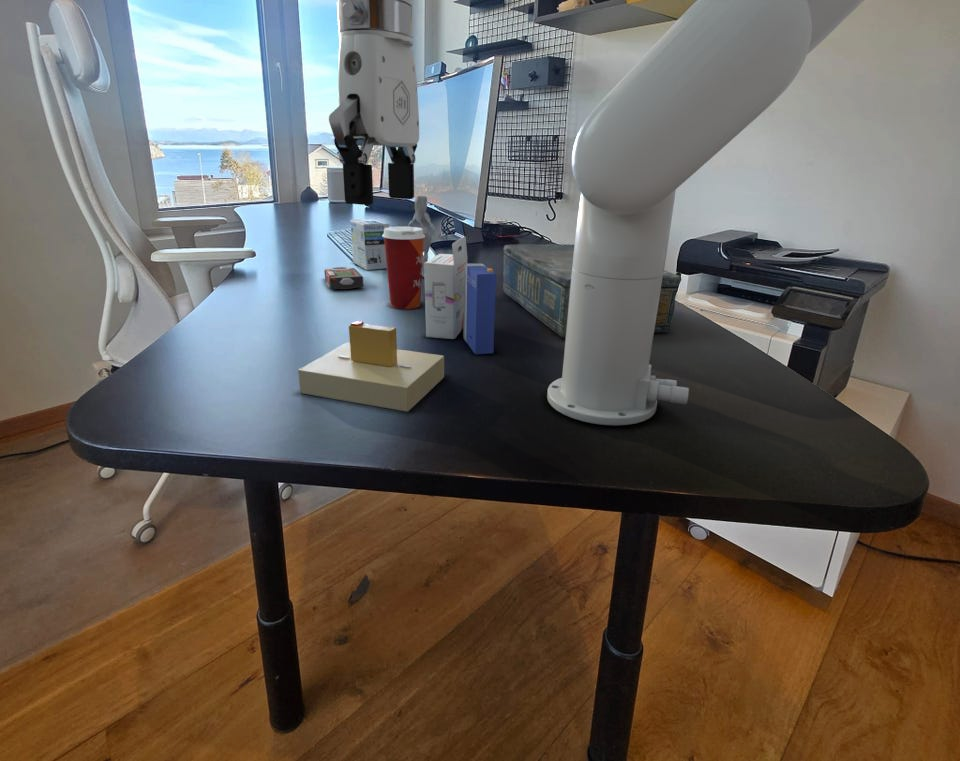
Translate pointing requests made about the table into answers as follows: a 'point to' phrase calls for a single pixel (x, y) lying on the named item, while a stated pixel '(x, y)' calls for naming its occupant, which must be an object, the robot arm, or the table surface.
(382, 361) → the block
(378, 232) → the light bulb box
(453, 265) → the ink cartridge box
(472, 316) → the walkman
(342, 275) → the brown red carton
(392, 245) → the paper cup
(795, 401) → the table surface
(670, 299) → the metal box
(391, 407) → the plate
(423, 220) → the human figurine
